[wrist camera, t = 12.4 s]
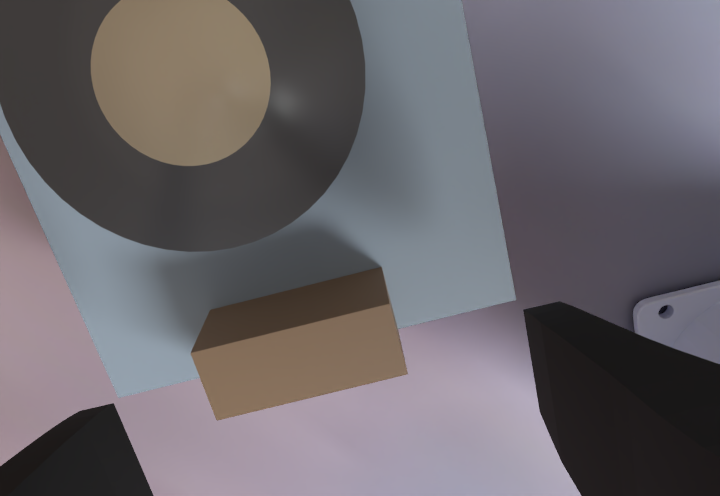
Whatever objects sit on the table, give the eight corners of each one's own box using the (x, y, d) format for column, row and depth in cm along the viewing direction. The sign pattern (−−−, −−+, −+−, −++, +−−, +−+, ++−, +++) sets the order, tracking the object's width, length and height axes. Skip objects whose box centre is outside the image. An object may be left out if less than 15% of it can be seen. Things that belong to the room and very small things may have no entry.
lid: (378, -401, 10) (393, -548, 8) (506, 286, 15) (544, 341, 12) (-144, -245, 11) (-298, -335, 8) (129, 380, 15) (86, 451, 13)
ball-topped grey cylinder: (324, -104, 11) (319, -176, 7) (377, 161, 13) (395, 213, 9) (61, -44, 11) (-77, -84, 8) (147, 210, 13) (69, 282, 9)
